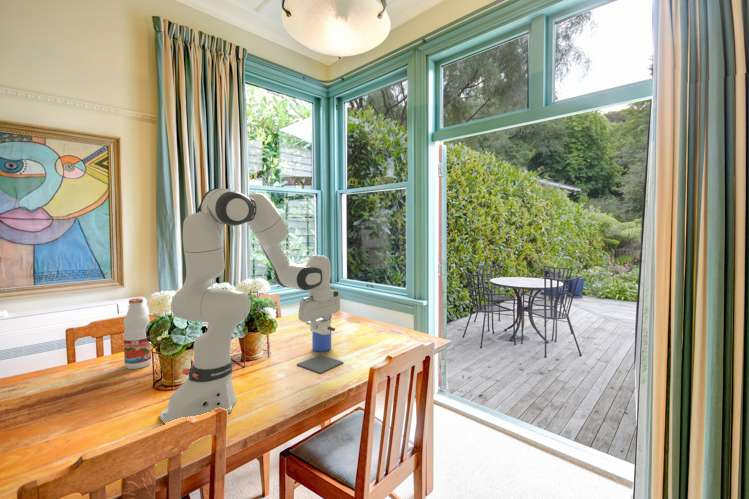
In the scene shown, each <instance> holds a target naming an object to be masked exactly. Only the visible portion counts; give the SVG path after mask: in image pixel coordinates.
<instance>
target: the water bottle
mask: <svg viewBox="0 0 749 499" xmlns="http://www.w3.org/2000/svg"><path fill="white" fill-rule="evenodd" d="M332 315H333V314H330V318H329V320H330V327H331V326H332V325H331V324H332ZM321 318H323V319H324V318H325V317H321ZM311 332H312V331H311ZM311 334H312V336H311V337H312V338H311V339H312V340H311V341H312V342H311V344H312V348H311V349H312V351H313V352H316V353H324V352H329V351H331V350H332V331H331V330H330V334H328V335H322V334H319V333H315V332H312V333H311Z"/></svg>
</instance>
